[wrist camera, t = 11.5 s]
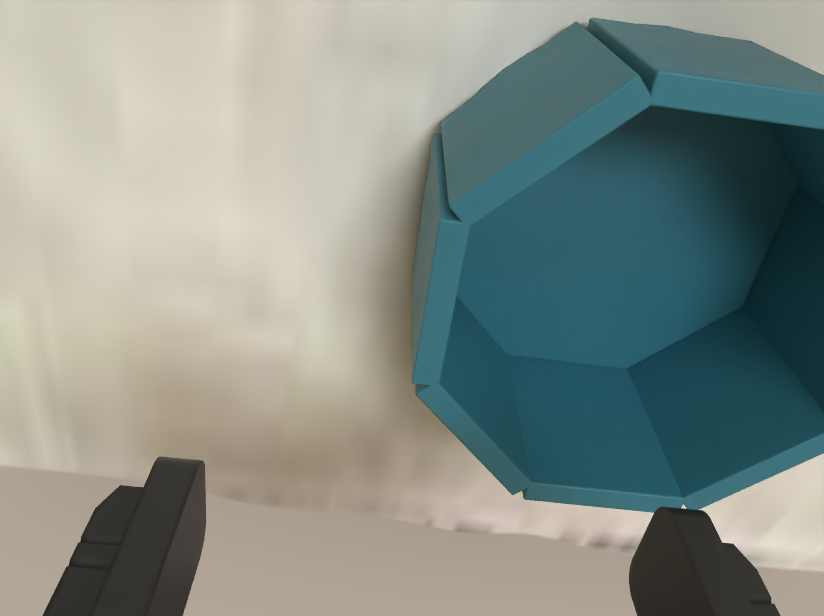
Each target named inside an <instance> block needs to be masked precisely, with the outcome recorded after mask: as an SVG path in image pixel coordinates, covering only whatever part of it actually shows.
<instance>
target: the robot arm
mask: <svg viewBox="0 0 824 616" xmlns="http://www.w3.org/2000/svg"><path fill="white" fill-rule="evenodd" d="M205 498H206V493H205V464H204V461H201V460H191V459H180V458H170V457H158V458H157V459H156V461H155V462H154V465H153V467H152V469H151V471H150V474H149V476H148V478H147V481H146V483H145V485H144V488H143V487H132V486H122V485H120V486H119V487H118V488H117V489H116V490H115V491H114V492H112V493H111V494H110V495H109V496H108V497H107V498H106V499H105V500H104V501H103V502H102V503H101V504H100V505H99V506H98V507H96V508H95V510H94V512H93V514H92V516H91V518H90V520H89V522H88V524H87V527H86V528H85V530H84V532H83V534H82V536H81V542H80V543H78V545H77V547H76V549H75V551H74V553H73V555H72V557H71V559H70V563H69V566H68V567H66V569H65V571H64V573H63V575H62V577H61V579H60V581H59V583H58V585H57V587H56V589H55V591H54V594H53V595H52V597H51V600H50V602H49V604H48V606H47V608H46V610H45V612H44V614H43V616H183V613H184V609H185V606H186V603H187V600H188V596H189V593H190V590H191V586H192V583H193V580H194V576H195V573H196V570H197V566H198V563H199V560H200V556H201V552H202V548H203V542H204V536H205V528H206V527H205V526H206V499H205ZM629 584H630V592H631V597H632V600H633V603H634V606H635V609H636V613H637V616H780V614H779V612H778V610H777V608H776V606H775V604H772V603H771V597H770V595H769V593H768V591H767V589H766V587H765V585H764V583H763V581H762V579H761V577H760V575H759V573H758V571H757V569H756V568H755V567H754V566H753V565H752V564H751V563H750V562H749V561H748V560H747V559H746V557H745V556H744V555H743V554H742V553H741V552H740V551H739V550H738V549H737V548H736V547H735V545H734V544H729V543H722V541H721V539H720V537H719V535H718V533H717V531H716V529H715V527H714V525H713V523H712V521H711V519H710V517H709V516H708V514H707V513H705V512H704V511H702V510H692V509H682V508H671V507H659V508H658V509H657V510H656V511H655V513H654V515H653V517H652V519H651V521H650V523H649V525H648V527H647V529H646V531H645V534H644V536H643V538H642V540H641V542H640V544H639V546H638V548H637V550H636V552H635V555H634V557H633V559H632V562H631V566H630V572H629Z"/></svg>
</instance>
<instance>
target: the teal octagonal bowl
mask: <svg viewBox="0 0 824 616" xmlns="http://www.w3.org/2000/svg"><path fill="white" fill-rule="evenodd" d="M441 132H442V134H439V133H434V134H433V140H432V146H431V153H430V159H429V166H428V172H427V179H426V184H425V189H424V193H423V198H422V209H421V218H420V224H419V231H418V237H417V244H416V250H415V257H414V263H413V303H412V383H413V384H416V395H417V396H418V397H419V399H420V400H421V401H422V402H423V403H424V404H425V405H426V406H427V407H428V408H429V409H430V410H431V411H432V412H433V413H434V414H435V415H436V416H437V417H438V418H439V419H440V420H441V421H442V422H443V423H444V424H445V426H446V427H447V428H448V429H449V430H450V431H451V432H452V433H453V434H454V435H455V436H456V437H457V438H458V439H459V440H460V441H461V442H462V443H463V444H464V445H465V446H466V447H467V448H468V449H469V450H470V451H471V452H472V454H473V455H474V456H475V457H476V458H477V459H478V460H479V461H480V462H481V463H482V464H483V465H484V466H485V467H486V468H487V469H488V470H489V471H490V472H491V473H492V474H493V475H494V476H495V477H496V478H497V479H498V480H499V482H500V483H501V484H502V485H503V486H504V487H505V488H506V489H507V490H508V491H509V492H510V493H511V494H512V495H514V494H516V493H518V492H520V491H522V492H523V498H524V499H525V500H535V501H545V502H555V503H565V504H575V505H585V506H594V507H604V508H614V509H624V510H634V511H644V512H654V513H655V511H656V510H657V509H658V508H659V507H671V508H681V507H682V505H683V504H684V505H685V506H686V508H687V509H692V510H699V509H701V508H703V507H705V506H707V505H710V504H712V503H714V502H716V501H719V500H721V499H723V498H725V497H727V496H730V495H732V494H734V493H736V492H739V491H741V490H743V489H745V488H747V487H750V486H752V485H754V484H756V483H759V482H761V481H763V480H765V479H767V478H770V477H772V476H774V475H776V474H778V473H781V472H783V471H785V470H787V469H790V468H792V467H794V466H796V465H798V464H801V463H803V462H805V461H807V460H810V459H812V458H814V457H816V456H818V455H821V454H823V453H824V76H823V75H821V74H819V73H817V72H815V71H813V70H811V69H809V68H807V67H804V66H802V65H800V64H798V63H796V62H794V61H792V60H790V59H787V58H785V57H783V56H781V55H779V54H777V53H775V52H773V51H771V50H768V49H766V48H764V47H762V46H760V45H758V44H756V43H754V42H752V41H746V40H739V39H733V38H726V37H719V36H713V35H706V34H699V33H694V32H691V31H686V30H682V29H677V28H673V27H669V26H660V25H647V24H632V23H625V22H618V21H612V20H605V19H598V18H591V19H590V20H589V24H588V28H587V30H586V29H585V28H584V27H583V26H582V25H580V24H579V23H578V22H574V23H573V24H572V25H570V26H569V27H568V28H566V29H565V30H564V31H562V32H561V33H560V34H558V35H557V36H556V37H554V38H553V39H552V40H550V41H549V42H547V43H546V44H545V45H543V46H542V47H540V48H538V49H536V50H534V51H532V52H530V53H528V54H526V55H525V56H523V57H522V58H520V59H519V60H517V61H516V62H514V63H513V64H511V65H510V66H508V67H506V68H505V69H503V70H502V71H501V72H500V73H499V74H498V75H496V76H495V77H494V78H493V79H492V80H490V81H489V82H488V83H487V84H486V85H485V86H483V87H482V88H481V89H480V90H479V92H478V93H477V94H476V95H475V96H474V97H473V98H472V99H471V100H469V101H468V102H467V103H465V104H464V105H463V106H461V107H460V108H459V109H457V110H456V111H455V112H453V113H452V114H450V115H449V116H448V117H446V118H445V119H444V120H442V121H441Z"/></svg>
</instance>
